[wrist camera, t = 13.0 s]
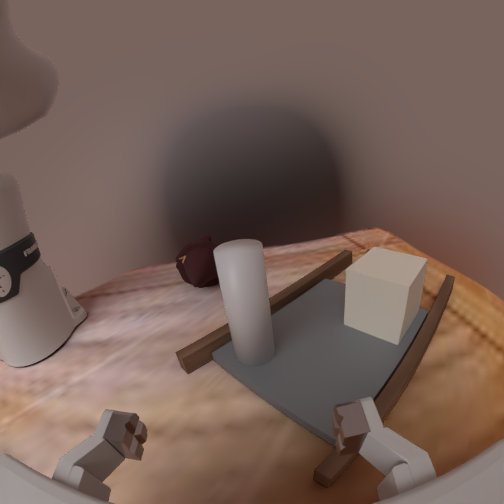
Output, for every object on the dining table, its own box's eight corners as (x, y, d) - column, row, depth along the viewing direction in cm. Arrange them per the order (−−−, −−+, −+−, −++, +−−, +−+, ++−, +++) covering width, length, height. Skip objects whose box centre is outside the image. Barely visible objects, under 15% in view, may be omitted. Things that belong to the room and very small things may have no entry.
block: (343, 324, 25) (346, 269, 23) (371, 296, 28) (374, 246, 26) (397, 345, 20) (409, 286, 18) (418, 311, 24) (427, 258, 22)
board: (213, 360, 24) (184, 252, 20) (325, 285, 34) (322, 200, 30) (336, 447, 14) (359, 324, 10) (426, 317, 24) (442, 217, 20)
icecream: (230, 259, 30) (230, 231, 45) (164, 252, 30) (186, 227, 44) (225, 313, 32) (227, 271, 47) (164, 307, 32) (184, 267, 46)
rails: (181, 367, 24) (175, 352, 23) (345, 261, 40) (345, 249, 39) (327, 488, 11) (330, 479, 10) (451, 290, 27) (454, 276, 27)
